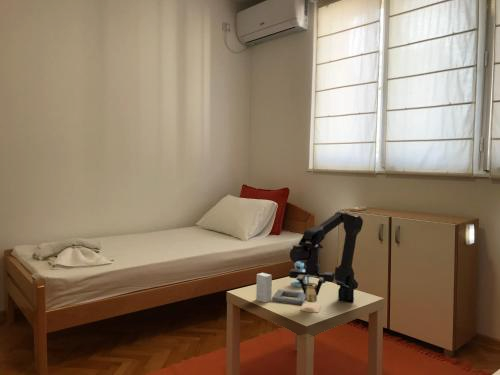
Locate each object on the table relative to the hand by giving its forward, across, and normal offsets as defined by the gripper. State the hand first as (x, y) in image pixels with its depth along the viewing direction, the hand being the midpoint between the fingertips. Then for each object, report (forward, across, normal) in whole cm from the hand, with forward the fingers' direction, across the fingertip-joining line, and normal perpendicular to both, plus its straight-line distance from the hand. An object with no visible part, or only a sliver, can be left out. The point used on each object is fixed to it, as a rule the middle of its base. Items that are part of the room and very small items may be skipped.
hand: (311, 294), depth 176 cm
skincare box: (+6, +22, -3) cm, 23 cm away
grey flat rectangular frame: (+6, +11, -9) cm, 16 cm away
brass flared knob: (+3, 0, 0) cm, 3 cm away
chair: (+6, +10, -33) cm, 35 cm away
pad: (+6, 0, 0) cm, 6 cm away
